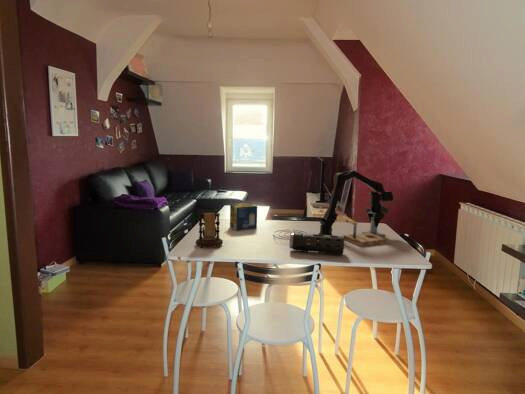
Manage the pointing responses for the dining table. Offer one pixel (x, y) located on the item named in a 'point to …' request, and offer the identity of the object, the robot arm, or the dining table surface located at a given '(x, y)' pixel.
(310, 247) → the muzzle brake
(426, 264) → the dining table surface
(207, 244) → the wooden hourglass
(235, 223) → the protein box
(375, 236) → the socket base
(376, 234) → the rubber mat
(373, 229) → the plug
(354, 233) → the bar
